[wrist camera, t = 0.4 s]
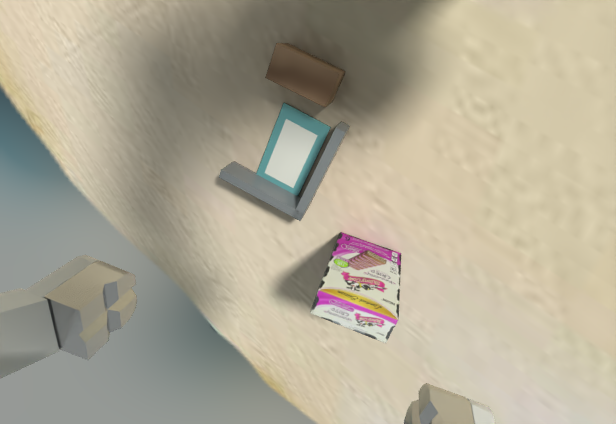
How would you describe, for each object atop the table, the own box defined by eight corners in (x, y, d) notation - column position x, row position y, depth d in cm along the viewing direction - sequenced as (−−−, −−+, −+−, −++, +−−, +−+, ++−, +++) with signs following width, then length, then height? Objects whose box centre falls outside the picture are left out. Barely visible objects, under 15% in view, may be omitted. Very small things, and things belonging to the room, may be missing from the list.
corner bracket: (261, 79, 50) (249, 82, 46) (350, 125, 50) (345, 132, 46) (231, 168, 58) (218, 177, 54) (307, 209, 58) (300, 221, 54)
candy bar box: (402, 251, 56) (400, 320, 42) (392, 273, 59) (387, 346, 45) (339, 229, 58) (317, 289, 44) (332, 252, 60) (308, 315, 46)
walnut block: (288, 43, 47) (276, 43, 43) (345, 71, 47) (339, 74, 42) (277, 74, 49) (265, 77, 45) (332, 101, 49) (325, 107, 45)
